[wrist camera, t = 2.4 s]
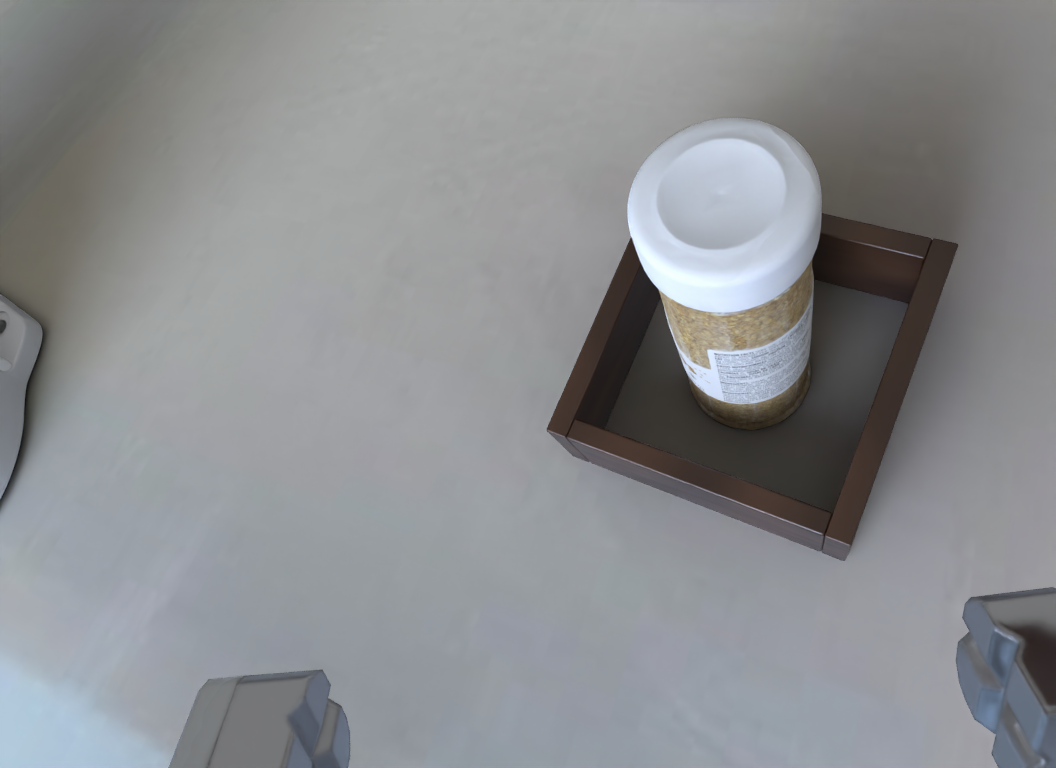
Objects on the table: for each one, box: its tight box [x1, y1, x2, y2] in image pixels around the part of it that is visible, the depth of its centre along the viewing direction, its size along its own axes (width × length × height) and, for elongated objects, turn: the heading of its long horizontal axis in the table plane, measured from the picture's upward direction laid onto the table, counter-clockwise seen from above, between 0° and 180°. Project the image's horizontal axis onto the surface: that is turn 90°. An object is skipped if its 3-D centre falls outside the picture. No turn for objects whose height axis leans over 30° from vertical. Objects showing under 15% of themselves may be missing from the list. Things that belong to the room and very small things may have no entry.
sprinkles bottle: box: [627, 118, 822, 430], centre depth 25 cm, size 5×5×13 cm
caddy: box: [547, 213, 958, 561], centre depth 30 cm, size 11×11×4 cm
